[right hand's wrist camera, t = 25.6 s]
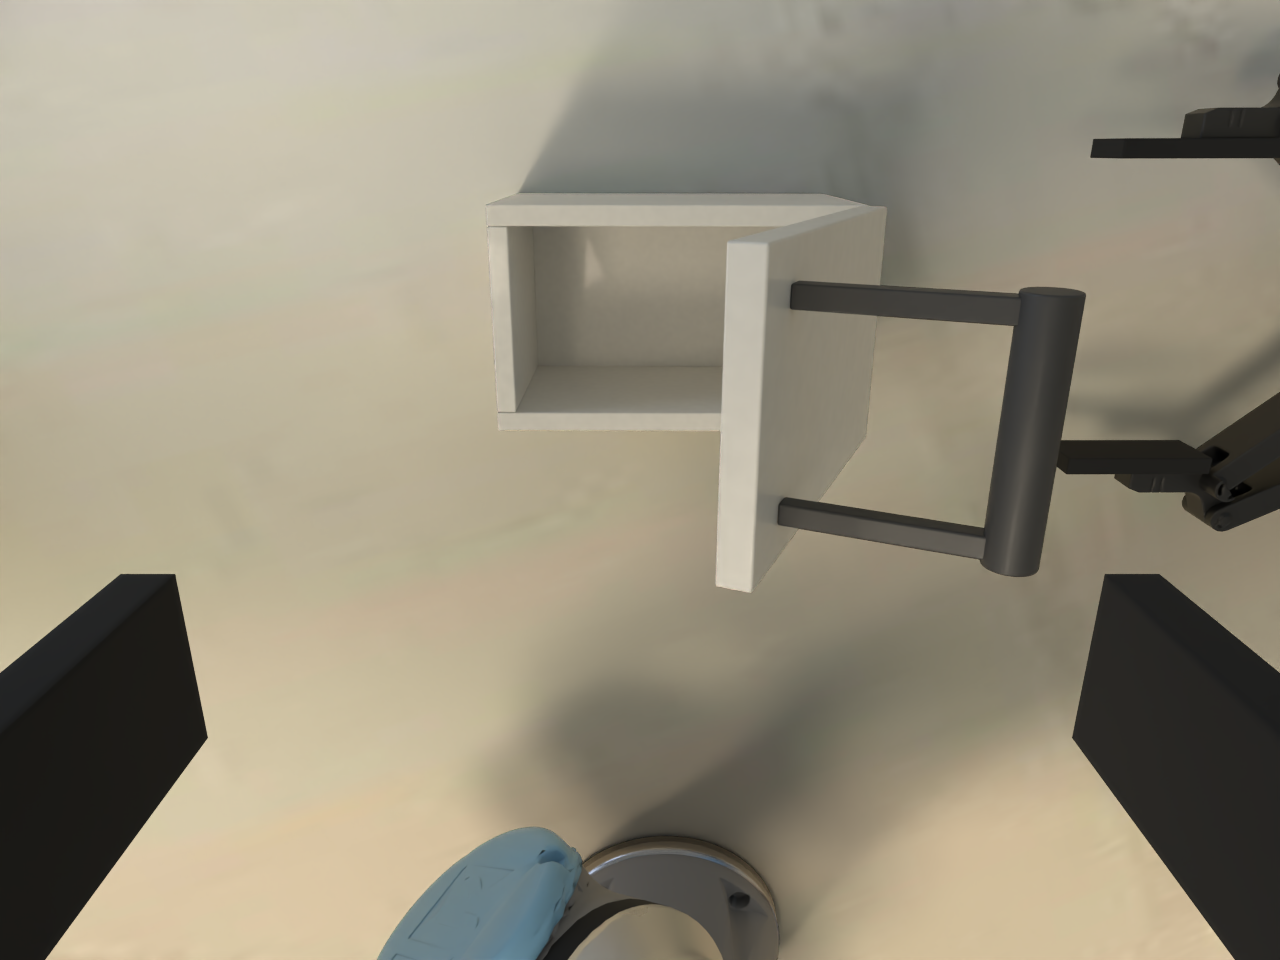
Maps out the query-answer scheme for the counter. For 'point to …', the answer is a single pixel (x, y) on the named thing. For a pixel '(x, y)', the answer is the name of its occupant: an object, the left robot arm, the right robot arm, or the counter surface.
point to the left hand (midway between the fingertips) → (1078, 311)
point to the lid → (867, 397)
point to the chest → (619, 304)
